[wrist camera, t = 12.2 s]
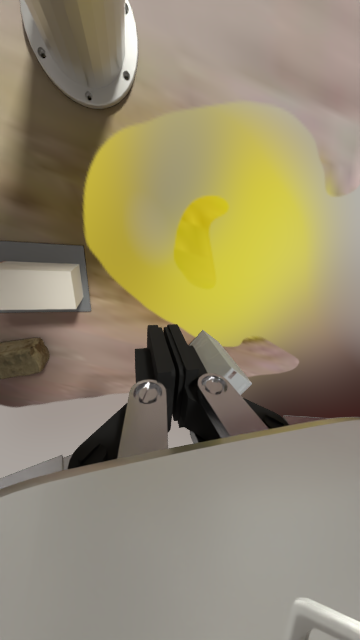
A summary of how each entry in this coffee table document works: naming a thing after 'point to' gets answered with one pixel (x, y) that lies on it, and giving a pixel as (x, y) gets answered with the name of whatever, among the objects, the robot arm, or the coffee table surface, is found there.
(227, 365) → the skincare box
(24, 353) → the stone block
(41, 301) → the cream rectangular block
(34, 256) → the rubber mat
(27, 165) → the coffee table surface
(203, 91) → the coffee table surface
